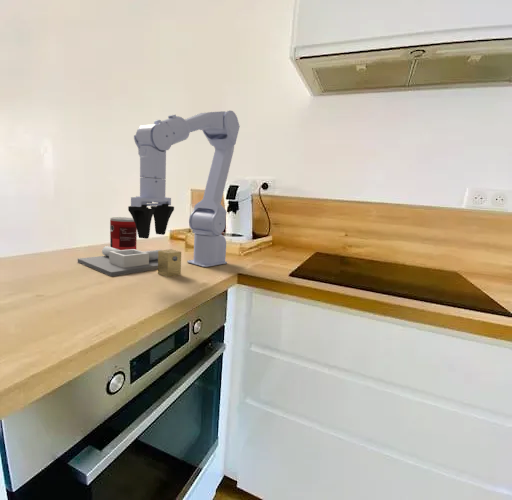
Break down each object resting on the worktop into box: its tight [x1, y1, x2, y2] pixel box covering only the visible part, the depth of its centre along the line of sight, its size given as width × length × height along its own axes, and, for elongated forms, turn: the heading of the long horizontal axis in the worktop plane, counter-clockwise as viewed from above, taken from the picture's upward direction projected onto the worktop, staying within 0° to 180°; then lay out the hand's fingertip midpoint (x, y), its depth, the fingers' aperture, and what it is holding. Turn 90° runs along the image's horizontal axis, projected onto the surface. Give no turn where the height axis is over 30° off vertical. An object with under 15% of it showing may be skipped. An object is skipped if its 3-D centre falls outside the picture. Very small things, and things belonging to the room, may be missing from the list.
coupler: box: [157, 248, 182, 278], centre depth 80 cm, size 4×5×6 cm
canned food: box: [109, 216, 138, 250], centre depth 102 cm, size 8×8×11 cm
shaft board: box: [77, 245, 161, 277], centre depth 87 cm, size 18×18×4 cm
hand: (152, 236), depth 77 cm, fingers open, 7 cm apart
